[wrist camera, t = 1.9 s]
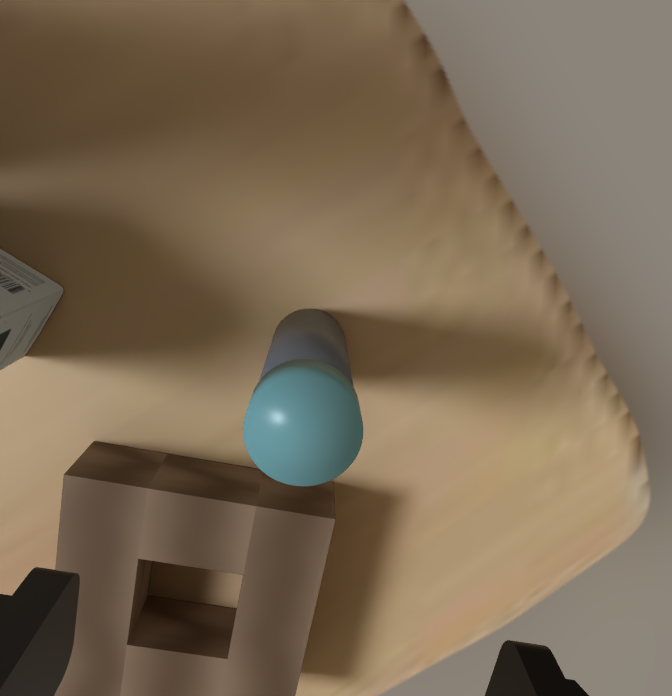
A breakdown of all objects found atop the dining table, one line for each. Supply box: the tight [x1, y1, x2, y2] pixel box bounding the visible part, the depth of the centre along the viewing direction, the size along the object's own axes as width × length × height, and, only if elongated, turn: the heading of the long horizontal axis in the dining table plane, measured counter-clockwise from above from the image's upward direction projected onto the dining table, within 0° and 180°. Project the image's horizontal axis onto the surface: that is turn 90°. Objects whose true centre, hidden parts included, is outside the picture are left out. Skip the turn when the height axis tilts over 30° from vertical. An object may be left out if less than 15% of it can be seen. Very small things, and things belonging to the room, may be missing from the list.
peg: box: [243, 309, 363, 486], centre depth 26 cm, size 4×4×12 cm
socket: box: [54, 441, 335, 696], centre depth 33 cm, size 14×14×4 cm
